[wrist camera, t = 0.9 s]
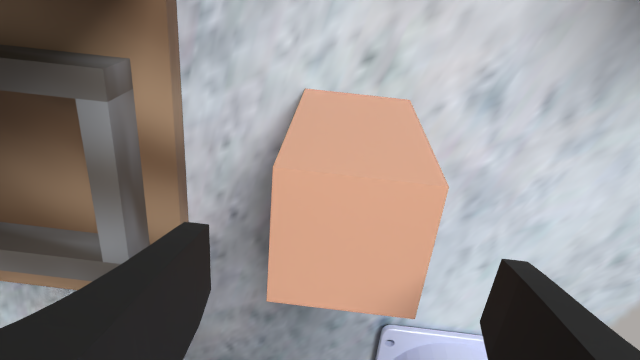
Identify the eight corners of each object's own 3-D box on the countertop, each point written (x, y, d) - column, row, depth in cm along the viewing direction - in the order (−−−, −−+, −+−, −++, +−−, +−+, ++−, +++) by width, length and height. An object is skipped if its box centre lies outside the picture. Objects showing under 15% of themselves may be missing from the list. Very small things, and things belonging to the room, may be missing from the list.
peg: (392, 192, 20) (414, 319, 12) (298, 181, 20) (266, 301, 12) (409, 100, 18) (448, 186, 10) (305, 88, 18) (272, 166, 11)
